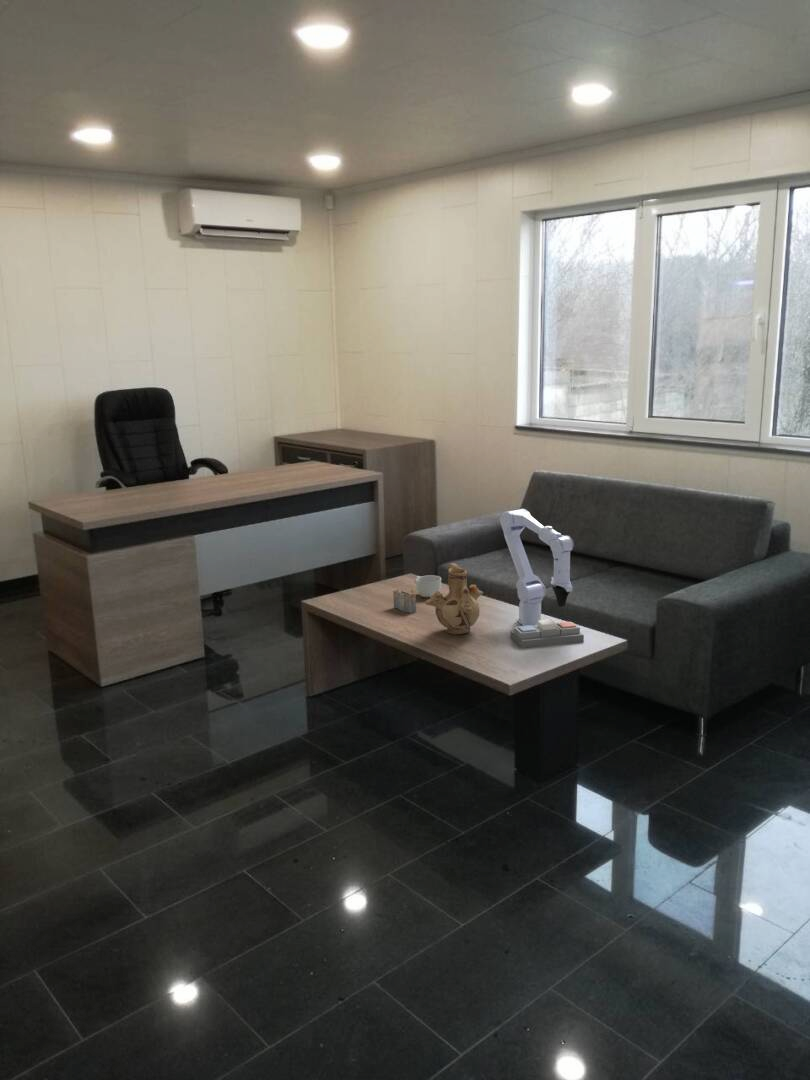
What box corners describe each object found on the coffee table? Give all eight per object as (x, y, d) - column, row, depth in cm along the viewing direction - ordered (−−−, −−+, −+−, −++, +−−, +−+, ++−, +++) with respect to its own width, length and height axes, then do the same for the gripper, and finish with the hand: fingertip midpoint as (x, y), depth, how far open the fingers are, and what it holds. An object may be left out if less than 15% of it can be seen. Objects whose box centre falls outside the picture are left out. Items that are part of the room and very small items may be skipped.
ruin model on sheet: (417, 613, 343) (416, 589, 341) (411, 614, 342) (410, 591, 339) (399, 607, 352) (399, 584, 350) (393, 608, 350) (393, 585, 348)
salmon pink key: (557, 629, 310) (557, 622, 309) (569, 628, 311) (570, 621, 310) (562, 633, 305) (562, 626, 304) (575, 632, 306) (575, 625, 306)
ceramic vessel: (424, 635, 314) (423, 569, 309) (446, 620, 331) (445, 558, 326) (470, 642, 306) (470, 574, 301) (490, 626, 323) (490, 562, 317)
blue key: (517, 633, 306) (517, 626, 306) (531, 631, 308) (531, 625, 307) (522, 637, 302) (522, 630, 301) (536, 636, 303) (536, 629, 302)
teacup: (446, 597, 364) (446, 579, 362) (424, 601, 358) (424, 582, 357) (429, 590, 375) (429, 572, 374) (408, 593, 370) (407, 576, 369)
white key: (537, 627, 308) (537, 620, 307) (550, 626, 309) (550, 619, 308) (542, 631, 303) (542, 624, 303) (556, 630, 304) (556, 623, 304)
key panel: (510, 637, 310) (510, 625, 309) (569, 631, 315) (569, 619, 314) (522, 647, 299) (522, 635, 298) (583, 641, 304) (583, 629, 303)
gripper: (543, 566, 314) (543, 601, 317) (559, 575, 300) (558, 612, 303) (561, 564, 316) (561, 600, 318) (578, 573, 302) (577, 610, 305)
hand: (561, 606), depth 311 cm, fingers closed
